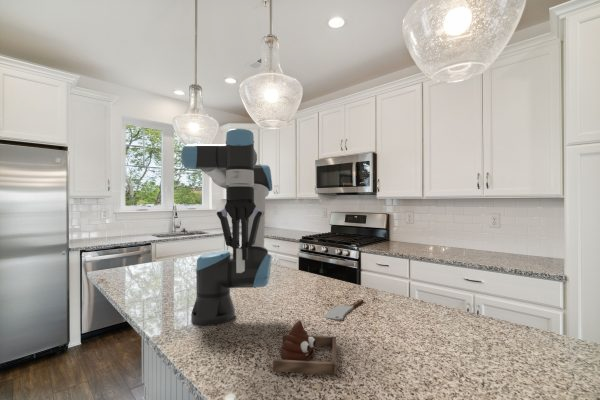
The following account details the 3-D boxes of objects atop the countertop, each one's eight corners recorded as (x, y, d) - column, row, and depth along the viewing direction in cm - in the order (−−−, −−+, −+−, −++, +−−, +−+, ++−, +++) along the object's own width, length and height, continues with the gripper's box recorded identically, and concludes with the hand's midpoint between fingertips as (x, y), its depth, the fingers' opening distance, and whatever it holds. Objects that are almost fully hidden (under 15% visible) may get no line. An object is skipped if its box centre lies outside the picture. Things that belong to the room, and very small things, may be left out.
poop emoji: (295, 344, 85) (295, 312, 85) (321, 352, 80) (320, 318, 81) (274, 360, 77) (273, 324, 77) (301, 370, 72) (301, 332, 72)
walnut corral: (272, 371, 72) (272, 360, 72) (283, 342, 86) (283, 334, 86) (336, 375, 70) (336, 364, 70) (336, 345, 84) (336, 336, 84)
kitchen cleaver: (346, 297, 126) (368, 300, 120) (347, 299, 126) (368, 302, 120) (315, 315, 107) (339, 320, 101) (315, 318, 107) (340, 323, 101)
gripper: (212, 185, 78) (212, 274, 78) (259, 185, 76) (260, 275, 76) (222, 187, 85) (222, 268, 85) (266, 186, 84) (266, 269, 84)
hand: (240, 271), depth 81 cm, fingers closed
